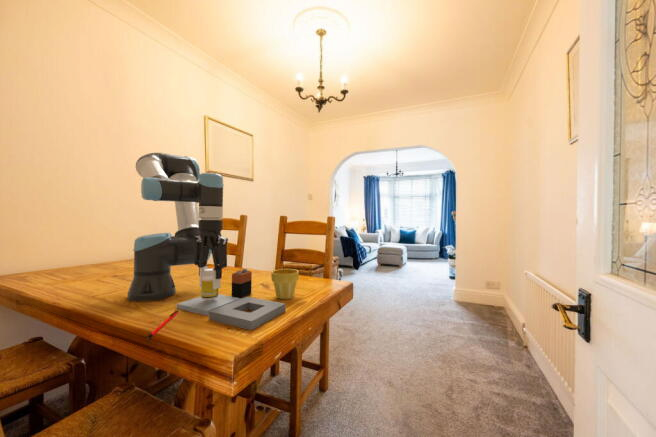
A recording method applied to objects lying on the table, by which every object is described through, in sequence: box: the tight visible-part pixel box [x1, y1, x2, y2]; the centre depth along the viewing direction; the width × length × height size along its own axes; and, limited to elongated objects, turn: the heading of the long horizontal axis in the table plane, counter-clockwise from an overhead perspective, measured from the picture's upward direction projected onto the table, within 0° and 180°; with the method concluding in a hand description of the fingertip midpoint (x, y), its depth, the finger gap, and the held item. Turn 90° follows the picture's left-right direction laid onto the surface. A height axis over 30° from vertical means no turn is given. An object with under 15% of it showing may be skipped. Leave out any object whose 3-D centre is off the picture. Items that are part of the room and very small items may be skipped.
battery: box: [231, 268, 253, 299], centre depth 101 cm, size 4×7×10 cm, turn 159°
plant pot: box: [270, 268, 300, 300], centre depth 101 cm, size 10×10×10 cm
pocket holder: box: [208, 296, 286, 331], centre depth 81 cm, size 16×16×2 cm
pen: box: [147, 310, 179, 340], centre depth 74 cm, size 1×19×1 cm, turn 10°
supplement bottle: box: [200, 268, 219, 300], centre depth 90 cm, size 5×5×10 cm
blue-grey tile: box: [176, 293, 240, 317], centre depth 90 cm, size 14×14×2 cm
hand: (210, 287), depth 90 cm, fingers closed on supplement bottle, 5 cm apart
